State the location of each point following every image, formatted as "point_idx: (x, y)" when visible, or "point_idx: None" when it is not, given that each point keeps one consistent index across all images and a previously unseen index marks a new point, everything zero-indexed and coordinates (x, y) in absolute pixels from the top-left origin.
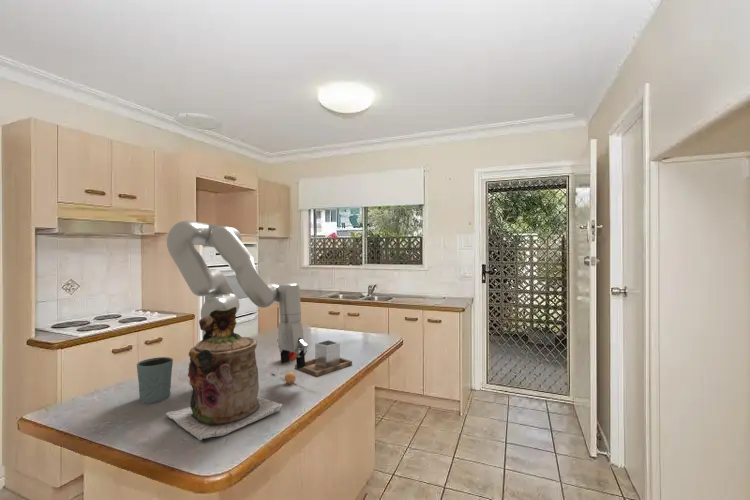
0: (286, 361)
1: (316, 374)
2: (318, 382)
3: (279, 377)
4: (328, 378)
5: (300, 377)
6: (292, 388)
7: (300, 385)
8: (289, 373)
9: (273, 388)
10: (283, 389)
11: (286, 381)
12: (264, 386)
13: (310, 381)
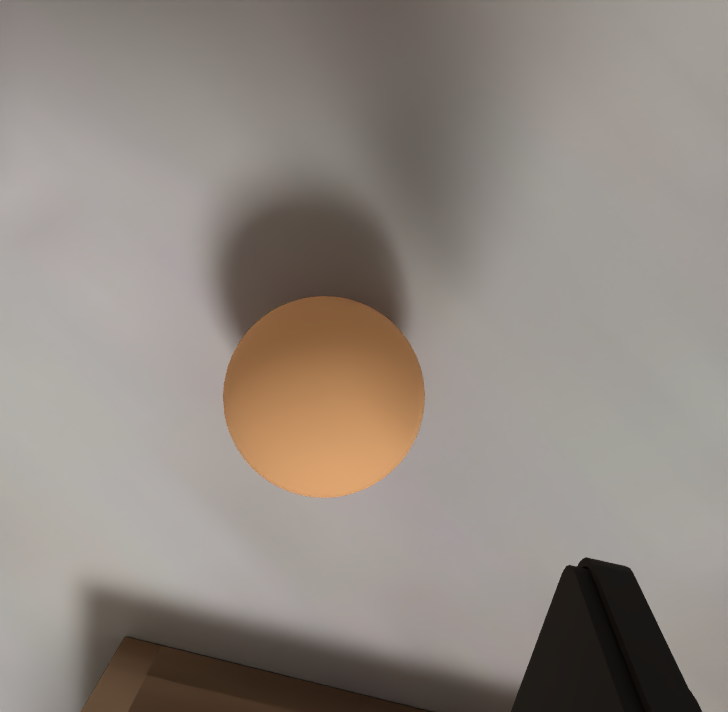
0: (533, 685)
1: (105, 688)
2: (16, 557)
3: (688, 472)
4: (26, 704)
5: (372, 600)
6: (134, 206)
7: (130, 363)
8: (290, 407)
9: (417, 26)
10: (224, 91)
11: (332, 297)
12: (654, 6)
13: (132, 541)
